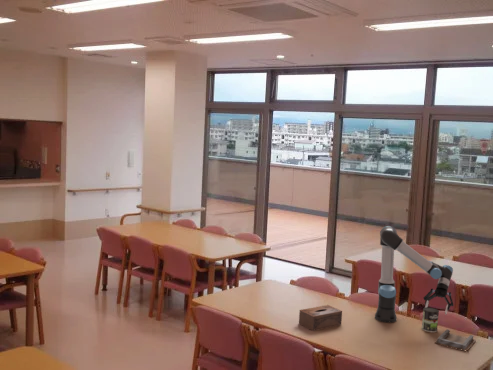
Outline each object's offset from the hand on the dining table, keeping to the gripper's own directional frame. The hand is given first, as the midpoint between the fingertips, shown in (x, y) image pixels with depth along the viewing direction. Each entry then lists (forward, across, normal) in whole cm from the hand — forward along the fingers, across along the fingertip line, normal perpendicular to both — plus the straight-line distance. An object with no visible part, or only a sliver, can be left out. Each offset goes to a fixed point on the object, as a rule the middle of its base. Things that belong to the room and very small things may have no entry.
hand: (435, 311), depth 372 cm
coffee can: (+13, +2, -4) cm, 13 cm away
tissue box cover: (+42, +64, +26) cm, 81 cm away
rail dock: (+21, -18, +5) cm, 28 cm away
